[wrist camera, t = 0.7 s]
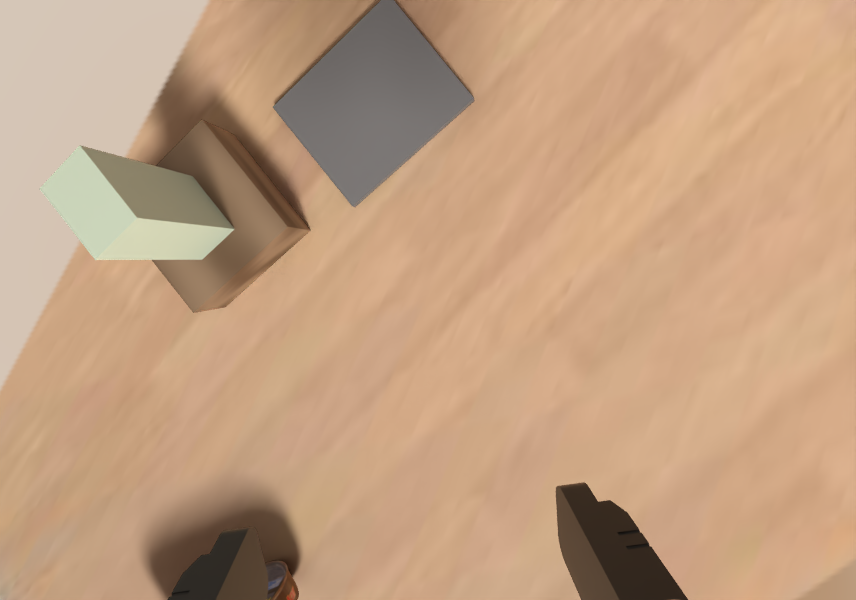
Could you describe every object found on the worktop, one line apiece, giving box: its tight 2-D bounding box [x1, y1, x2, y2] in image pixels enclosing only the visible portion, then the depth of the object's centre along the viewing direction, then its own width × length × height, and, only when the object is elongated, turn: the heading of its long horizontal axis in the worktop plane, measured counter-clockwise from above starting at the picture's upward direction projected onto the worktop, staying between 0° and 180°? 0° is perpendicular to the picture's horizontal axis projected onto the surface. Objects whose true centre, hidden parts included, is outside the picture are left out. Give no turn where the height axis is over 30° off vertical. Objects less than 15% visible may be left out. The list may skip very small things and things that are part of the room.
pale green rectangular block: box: [40, 146, 234, 260], centre depth 28 cm, size 4×5×9 cm
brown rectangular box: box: [152, 119, 310, 313], centre depth 35 cm, size 10×10×4 cm
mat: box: [273, 0, 474, 207], centre depth 34 cm, size 12×10×1 cm
